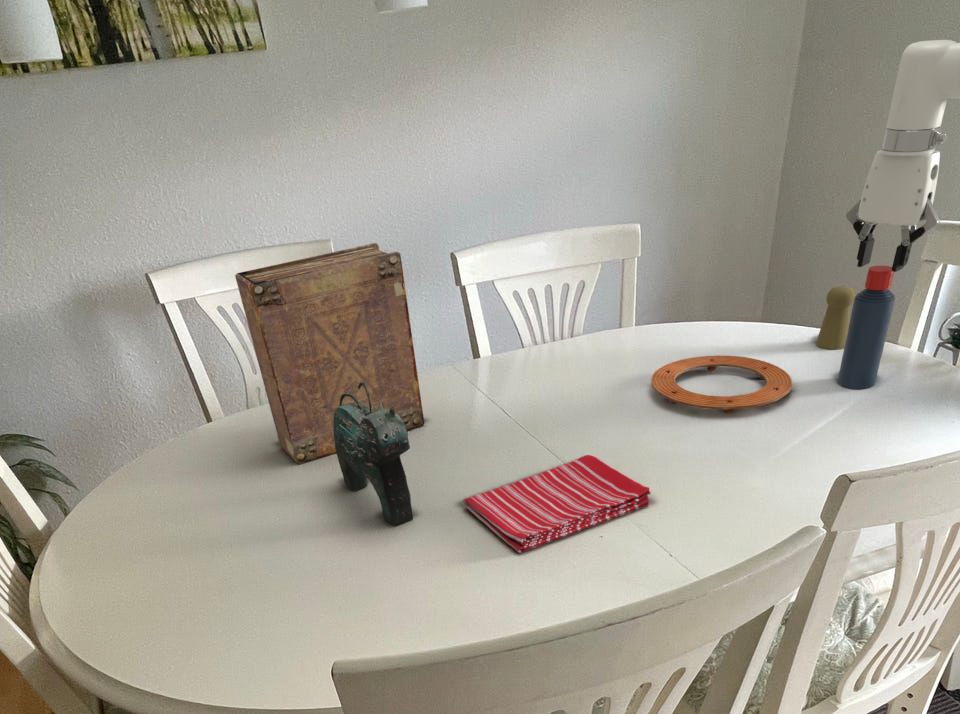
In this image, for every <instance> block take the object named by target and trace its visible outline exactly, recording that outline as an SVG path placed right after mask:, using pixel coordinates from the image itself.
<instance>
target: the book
mask: <svg viewBox="0 0 960 714" xmlns="http://www.w3.org/2000/svg"><path fill="white" fill-rule="evenodd" d="M402 263H403V262H402V257H401V252H399V251H391V252H385V251H383V250H380V247H379V244H378V243H377V242H373V243H369V244H364V245H359V246H355V247H350V248H346V249H341V250H337V251H332V252H327V253H322V254H318V255H313V256H309V257H305V258H300V259H296V260H290V261H288V262H287V261H286V262H281V263H277V264H273V265H268V266H263V267H259V268H256V269H255V268H254V269H250V270H246V271H245V270H244V271H241V272H237V273H235V274H234V276H235V277H234V278H235V281H236V285H237V288H238V292H239V296H240V299H241V304H242V308H243V310H244V314H245V318H246V319H245V320H246V322H247V326H248V329H249V334H250V338H251V340H252V345H253V348H254V353H255V356H256V360H257V363H258V367H259V371H260V375H261V378H262V383H263V385H264V390H265V393H266V397H267V401H268V404H269V405H268V406H269V409H270V412H271V416H272V419H273V420H272V421H273V424H274V427H275V430H276V435H277V439H278V442H279V445H280V447H281V448H282V449H283V450H284V451H285V452H286V453H287V455H289V457H290V458H291V459H292V460H293V461H294V462H295V463H296V464H297V465H300V464H304V463H308V462H311V461H314V460H317V459H320V458H324V457H327V456H330V455H335V454H337V453H336V449H335V439H334V429H333V420H334V413H335V411H336V409H337V408H338V407H339V406H340V398H341V396H342V394H345V393H349V394H351V395H353V396H354V397H355V398H356V399H357V400H358V401H359V403H360V404H364V405H366V406H368V407H369V400H368V396H367V393H366V390H365V388H364V387H363V386H361V387H360V389H359V388H358V386H359V383H361V382H365V385H366V387H367V389H368V391H369V396H370V401H371V407H372V411H373V412H375V411H376V410H377V408H378V406H379V404H380V403H381V402H382V401H383V407H384V409H385V410H390V408H392V407H394V411H395V412H396V413H397V414H398V415H399V416H400V418H401V419H402V421H403V423H404V425H405V427H406V430H407V432H408V431H412V430H416V429H418V428H421V427H424V425H425V418H424V411H423V404H422V396H421V390H420V383H419V375H418V369H417V363H416V357H415V356H416V355H415V347H414V341H413V334H412V333H413V332H412V327H411V320H410V311H409V305H408V299H407V298H408V297H407V290H406V285H405V278H404V269H403V264H402ZM353 402H355V401H354V399H353V398H351V397H348V396H345V397H344V399H343V401H342V406H344V405H346V404H349V403H353Z"/></svg>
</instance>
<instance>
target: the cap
mask: <svg viewBox="0 0 960 714" xmlns="http://www.w3.org/2000/svg"><path fill="white" fill-rule="evenodd" d="M894 273H895V272H893V271H892V266H890V265H873V266H870V267H868V270H867V274H866V279H865V284H864V289H869V290H878V291H880V290H887V289H888V290H890V288H891V286H892V281H893V277H894Z"/></svg>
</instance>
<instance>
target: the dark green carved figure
mask: <svg viewBox="0 0 960 714" xmlns="http://www.w3.org/2000/svg"><path fill="white" fill-rule="evenodd" d="M361 386H363V387H364V388H365V390H366V393H367V396H368V400H369V407H368V406H366V405H364V404H360V403H359V401H358V400H357V399H356V398H355V397H354V396H353V395H351V394H349V393H345V394H342V396H341V398H340V406H339V407H338V408H337V409H336V411H335V413H334V420H333V429H334V439H335V449H336V453H335V454H336V456H337V460H338V464H339V468H340V471H341V474H342V478H343V482H344V484H345V486H346V487H347V489H348V490H350V491H352V492H357V491H359V490H363V489H365V488H366V487H367V486H368V481H369V482H370V484H371V485H372V487H373V489H374V492H375V493H376V495H377V497H378V500H379V503H380V507H381V513H382V517H383V519H384V520H385V521H387V522H388V523H390V525H391V526H393V527H398V526H400V525H403V524H405V523H407V522H410V521H412V520H414V516H413V509H412V508H413V507H412V501H411V499H412V498H411V497H412V496H411V491H410V488H409V485H408V481H407V476H406V471H405V468H404V465H403V463H402V459H401V455H402V454H404V453H406V452H408V451H409V450H410V448H411V445H410V440H409V435H408V434H409V433H408V431H407V430H406V427H405V425H404V423H403V421H402V419H401V418H400V416H399V415H398V414H397V413H396V412H395V411H394V407H392V408H390V410H385V409H384V407H383V401H382V402H381V403H380V404H379V406H378V408H377V410H376V411H375V412H373V411H372V407H371V401H370V396H369V391H368V389H367V387H366V385H365V382H361V383H359V386H358V388H359V389H360V387H361ZM345 396H348V397H351V398H353V399H354V401H355V402H353V403H349V404H346V405H344V406H342V401H343V399H344V397H345Z"/></svg>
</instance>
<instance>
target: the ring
mask: <svg viewBox="0 0 960 714" xmlns="http://www.w3.org/2000/svg"><path fill="white" fill-rule="evenodd" d="M717 367H729V368H737V369H743V370H748V371H751V372H753V373H755V374H758V378H759V379H761V380H765V381H766V384H765V385H764V386H763V387H761V388H760V389H758V390H755V391H753V392H752V391H751V392H749V393H745V394H737V395H726V396H725V395H724V396H723V395H721V396H720V395H708V394H701V393H697V392H693V391H690V390H688V389H685V388H683V387H682V386H680V385H679V384H678V383H677V382H676V379H677V378H678V377H679V376H680V375H681V374H683V373H685V372H688V371H692V370H695V369H701V368H702V369H703V368H706V370H707V372H708V371H709V372H715V371H716V369H717ZM650 382H651V386H652V389H653V390H654V391H655V392H656V393H657V394H659V395H660V396H662V397H663V398H665V399H667V400H669V401H668V402H669V404H673V405H676V404H680V405H683V406H687V407H688V406H689V407H693V408H698V409H707V410H723V412H724V413H725V414H733V413H734V411H735V410H741V409H749V408H755V407H761V406H765V405H768V404H772V403H774V402H776V401H779V400H781V399H782V398H784V397H786V396H787V395H788V394H789V393H790V392H791V390H792V387H793V379H792V377H791V376H790V374H789V373H787V371H786V370H784V369H783V368H781V367H780V366H778V365H776V364H773V363H770V362H767V361H765V360H761V359H757V358H752V357H747V356H739V355H702V356H694V357H693V356H692V357H687V358H683V359H678V360H675V361H671V362H669V363H667V364H664V365H663V366H661V367H659V368H658V369H656V370H655V371H654V372H653V373H652V375H651V377H650Z"/></svg>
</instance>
